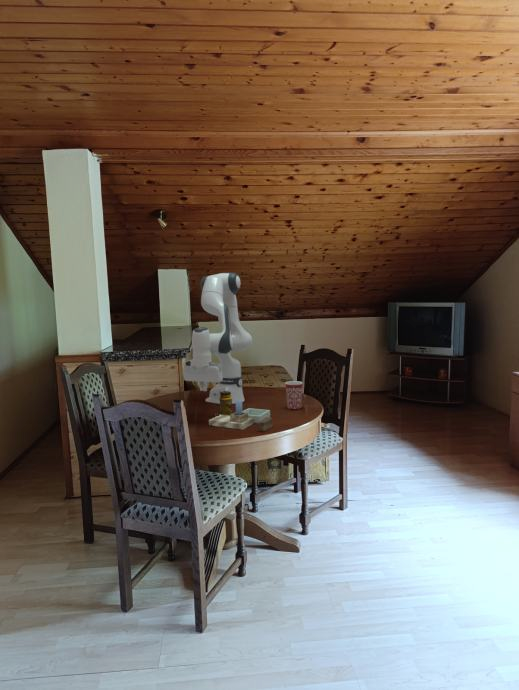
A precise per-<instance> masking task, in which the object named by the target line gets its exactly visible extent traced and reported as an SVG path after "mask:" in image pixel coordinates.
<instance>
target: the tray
mask: <svg viewBox="0 0 519 690" xmlns="http://www.w3.org/2000/svg"><path fill="white" fill-rule="evenodd" d="M242 412H245V413H248V418H253V424H257V425H258V422H259V421H261V420H263V419H264V418H266V417H267V418H271V410H270V409H260V408H251V407H250V408H249V407H248V408H246V409H244V410H242Z"/></svg>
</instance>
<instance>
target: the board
mask: <svg viewBox="0 0 519 690" xmlns="http://www.w3.org/2000/svg"><path fill="white" fill-rule="evenodd" d="M242 413H243V415H241V416H240V415H236V411H235V412H232V414H231V415H230V416H228V415H219V416H216V415H215V417H212V418H210V419H208V425H209V426H211V425H212V427H220V428H226V429H227V428H229V429H234V430H245V429H246V428H248V427H250V426H252V425H253V424H254V423H253V418H248V413H245V412H242Z"/></svg>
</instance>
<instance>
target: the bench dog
mask: <svg viewBox="0 0 519 690" xmlns="http://www.w3.org/2000/svg"><path fill="white" fill-rule="evenodd" d="M257 425H258V426H257V429H258V432H267V431H268V430H269V429H272V428H273V418H272V417H270V418H267V417H266V418H264V419H263V420H261V421H259V422H258V424H257Z"/></svg>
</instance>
